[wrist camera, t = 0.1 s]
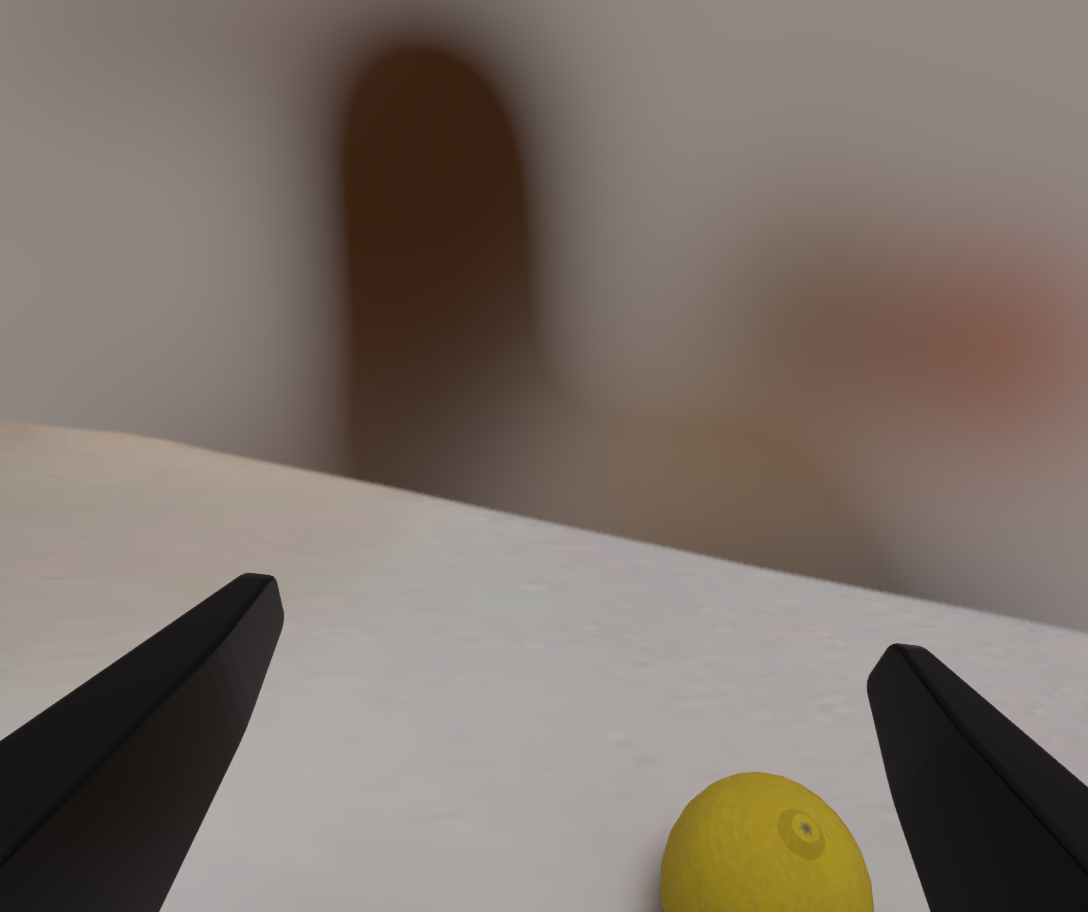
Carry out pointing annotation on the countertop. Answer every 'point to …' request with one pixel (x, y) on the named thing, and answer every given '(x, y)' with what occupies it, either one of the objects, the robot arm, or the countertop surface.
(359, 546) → the countertop surface
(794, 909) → the lemon
